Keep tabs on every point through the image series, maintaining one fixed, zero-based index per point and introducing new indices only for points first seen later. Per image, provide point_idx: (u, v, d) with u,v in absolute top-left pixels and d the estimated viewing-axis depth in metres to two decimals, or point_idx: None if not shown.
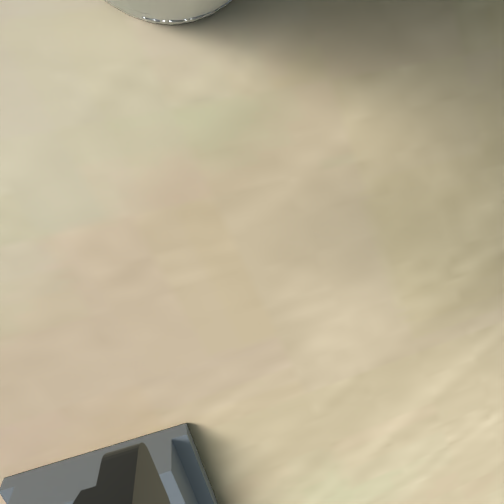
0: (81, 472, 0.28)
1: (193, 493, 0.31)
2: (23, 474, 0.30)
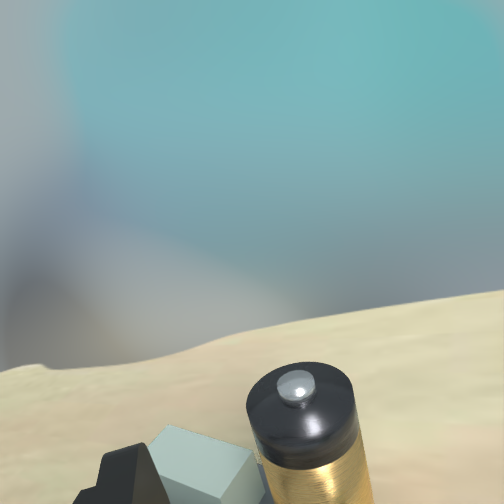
0: None
1: None
2: None
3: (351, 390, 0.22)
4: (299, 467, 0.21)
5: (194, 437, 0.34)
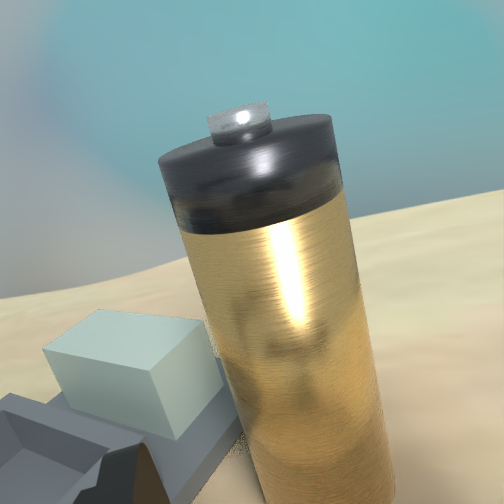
0: None
1: None
2: None
3: (329, 117, 0.13)
4: (239, 230, 0.12)
5: (129, 316, 0.26)
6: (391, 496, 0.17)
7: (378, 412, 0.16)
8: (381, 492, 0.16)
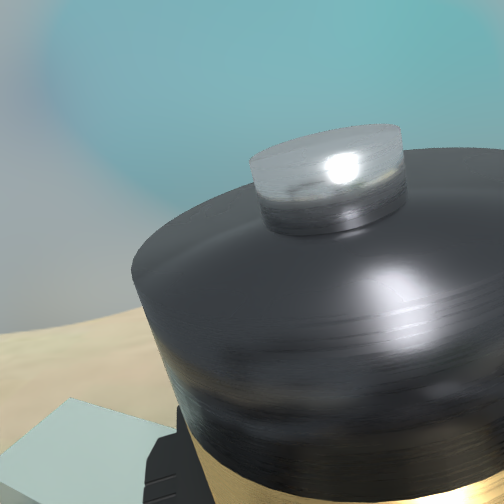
0: None
1: None
2: None
3: None
4: (351, 489, 0.04)
5: (110, 419, 0.18)
6: None
7: None
8: None
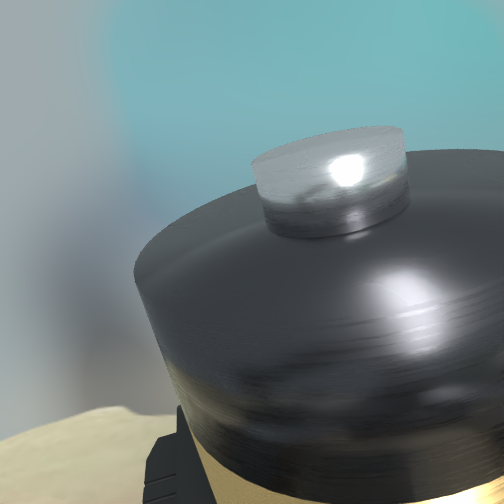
0: None
1: None
2: None
3: None
4: (353, 492, 0.04)
5: None
6: None
7: None
8: None
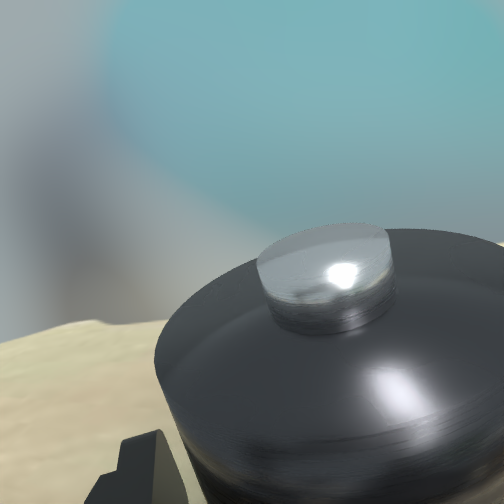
0: None
1: None
2: None
3: None
4: None
5: None
6: None
7: None
8: None
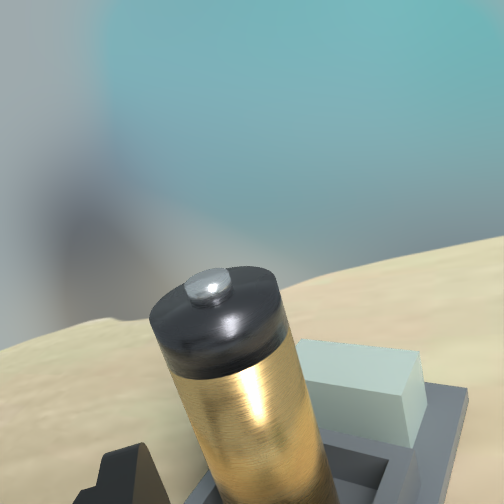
0: None
1: None
2: None
3: (274, 284, 0.18)
4: (207, 377, 0.17)
5: (339, 346, 0.30)
6: None
7: (327, 491, 0.20)
8: None
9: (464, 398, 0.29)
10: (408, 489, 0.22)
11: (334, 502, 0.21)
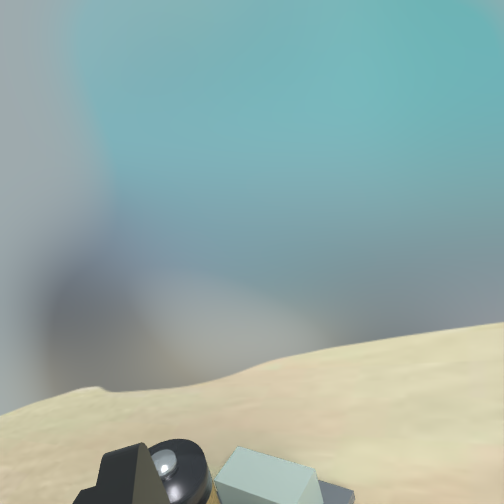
0: None
1: None
2: None
3: (202, 469, 0.29)
4: None
5: (263, 457, 0.42)
6: None
7: None
8: None
9: (349, 499, 0.40)
10: None
11: None
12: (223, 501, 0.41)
